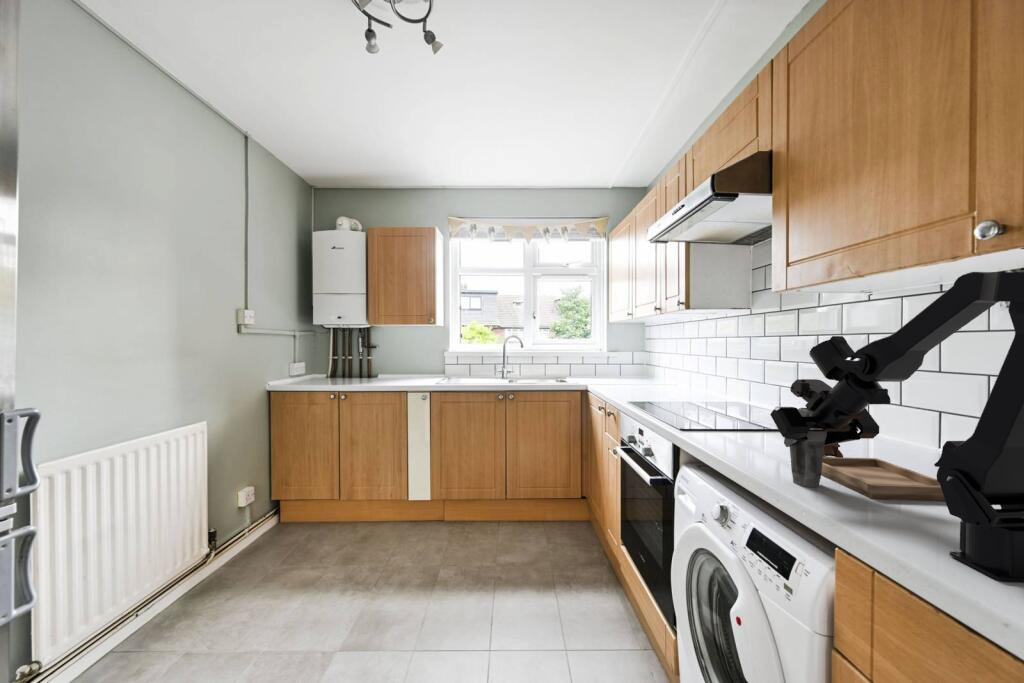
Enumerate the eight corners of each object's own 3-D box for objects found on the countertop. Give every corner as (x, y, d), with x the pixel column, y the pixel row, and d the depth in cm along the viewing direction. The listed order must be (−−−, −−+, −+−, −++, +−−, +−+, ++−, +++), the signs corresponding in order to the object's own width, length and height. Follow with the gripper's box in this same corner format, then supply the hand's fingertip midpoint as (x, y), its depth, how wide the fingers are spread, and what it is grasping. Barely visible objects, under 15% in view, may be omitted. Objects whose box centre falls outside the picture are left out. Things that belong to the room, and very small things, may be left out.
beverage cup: (776, 479, 91) (777, 385, 91) (802, 476, 94) (803, 384, 94) (809, 491, 85) (810, 388, 84) (836, 487, 87) (837, 387, 87)
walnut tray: (961, 501, 80) (961, 488, 80) (871, 498, 81) (871, 485, 81) (876, 469, 100) (876, 458, 100) (804, 467, 101) (804, 456, 101)
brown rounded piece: (856, 467, 103) (845, 438, 102) (816, 482, 105) (805, 454, 103) (823, 442, 115) (814, 417, 113) (788, 456, 116) (778, 431, 115)
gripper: (867, 367, 86) (822, 413, 97) (777, 366, 84) (742, 413, 95) (905, 413, 78) (852, 457, 89) (806, 413, 77) (765, 458, 88)
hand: (801, 444), depth 90 cm, fingers closed on beverage cup, 7 cm apart
